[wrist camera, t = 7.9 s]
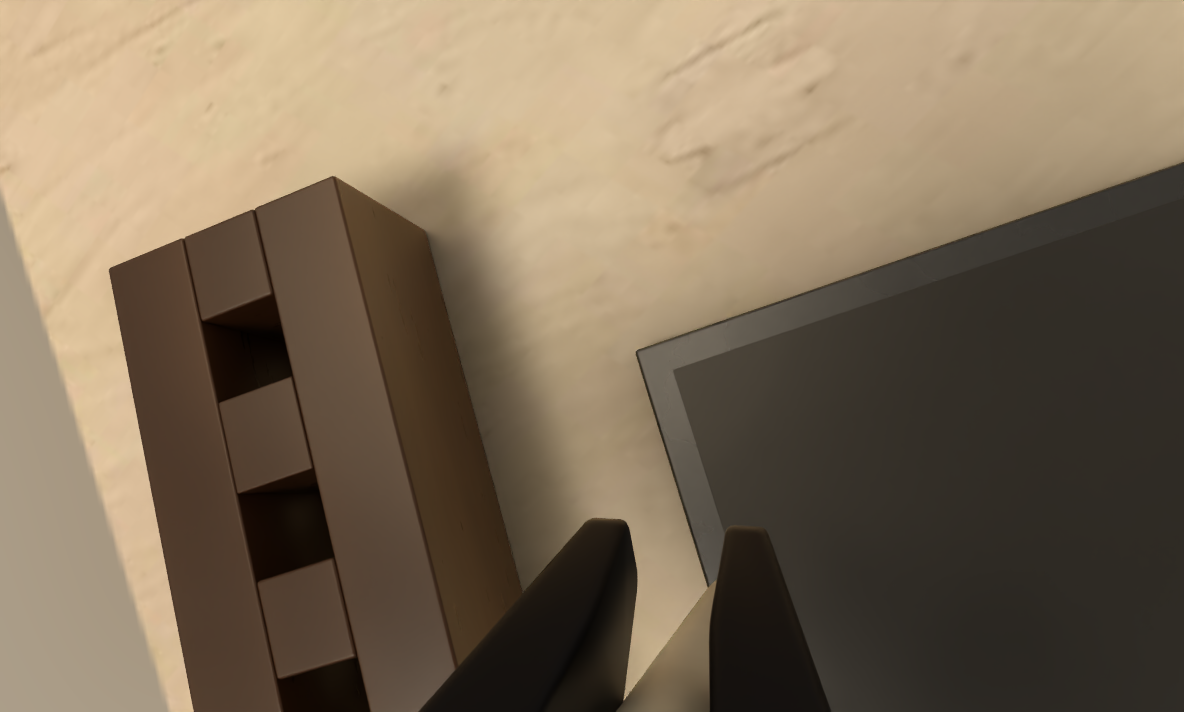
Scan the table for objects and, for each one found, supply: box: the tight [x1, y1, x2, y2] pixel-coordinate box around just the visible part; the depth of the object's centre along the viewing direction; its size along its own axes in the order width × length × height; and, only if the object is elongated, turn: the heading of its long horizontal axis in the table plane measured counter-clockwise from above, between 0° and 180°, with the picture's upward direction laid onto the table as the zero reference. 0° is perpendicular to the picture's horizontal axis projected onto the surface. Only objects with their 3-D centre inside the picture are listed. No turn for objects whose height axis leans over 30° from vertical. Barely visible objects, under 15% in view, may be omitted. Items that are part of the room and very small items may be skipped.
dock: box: [109, 176, 523, 712], centre depth 23 cm, size 6×15×5 cm, turn 17°
